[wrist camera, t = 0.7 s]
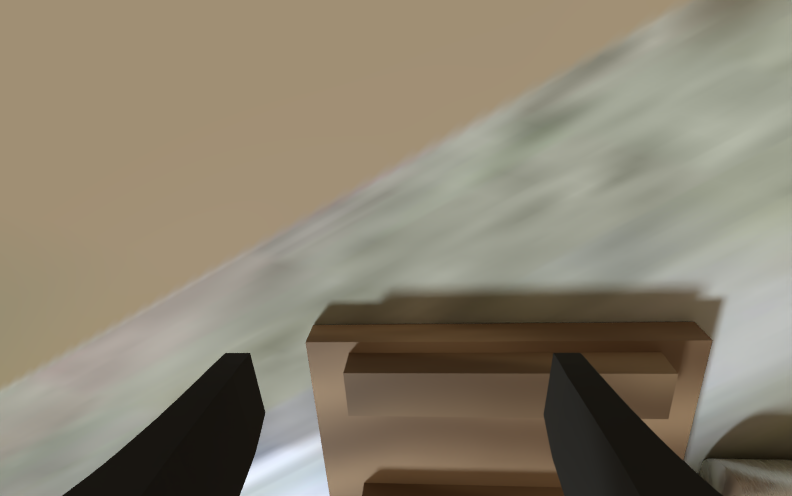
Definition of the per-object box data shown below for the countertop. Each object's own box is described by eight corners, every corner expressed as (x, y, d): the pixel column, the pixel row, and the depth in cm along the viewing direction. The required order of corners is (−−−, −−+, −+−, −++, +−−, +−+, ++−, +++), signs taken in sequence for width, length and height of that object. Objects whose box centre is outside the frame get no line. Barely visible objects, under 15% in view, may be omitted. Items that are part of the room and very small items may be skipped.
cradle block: (653, 505, 26) (680, 559, 23) (338, 496, 28) (328, 546, 25) (694, 321, 21) (733, 361, 19) (313, 325, 23) (297, 362, 20)
